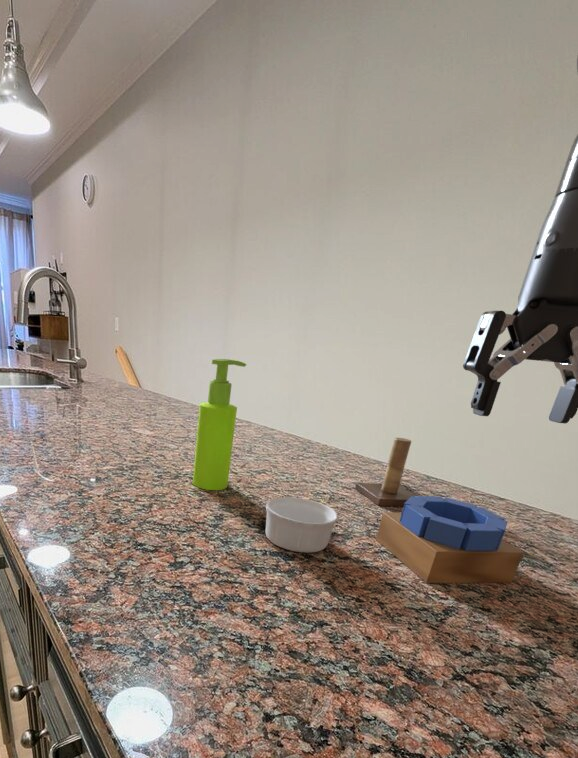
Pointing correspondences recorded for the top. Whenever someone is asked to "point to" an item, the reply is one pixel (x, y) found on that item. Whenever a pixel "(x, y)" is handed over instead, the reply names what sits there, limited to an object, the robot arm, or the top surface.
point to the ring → (453, 523)
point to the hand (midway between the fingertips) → (518, 418)
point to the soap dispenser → (215, 432)
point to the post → (390, 479)
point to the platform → (446, 556)
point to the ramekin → (299, 524)
